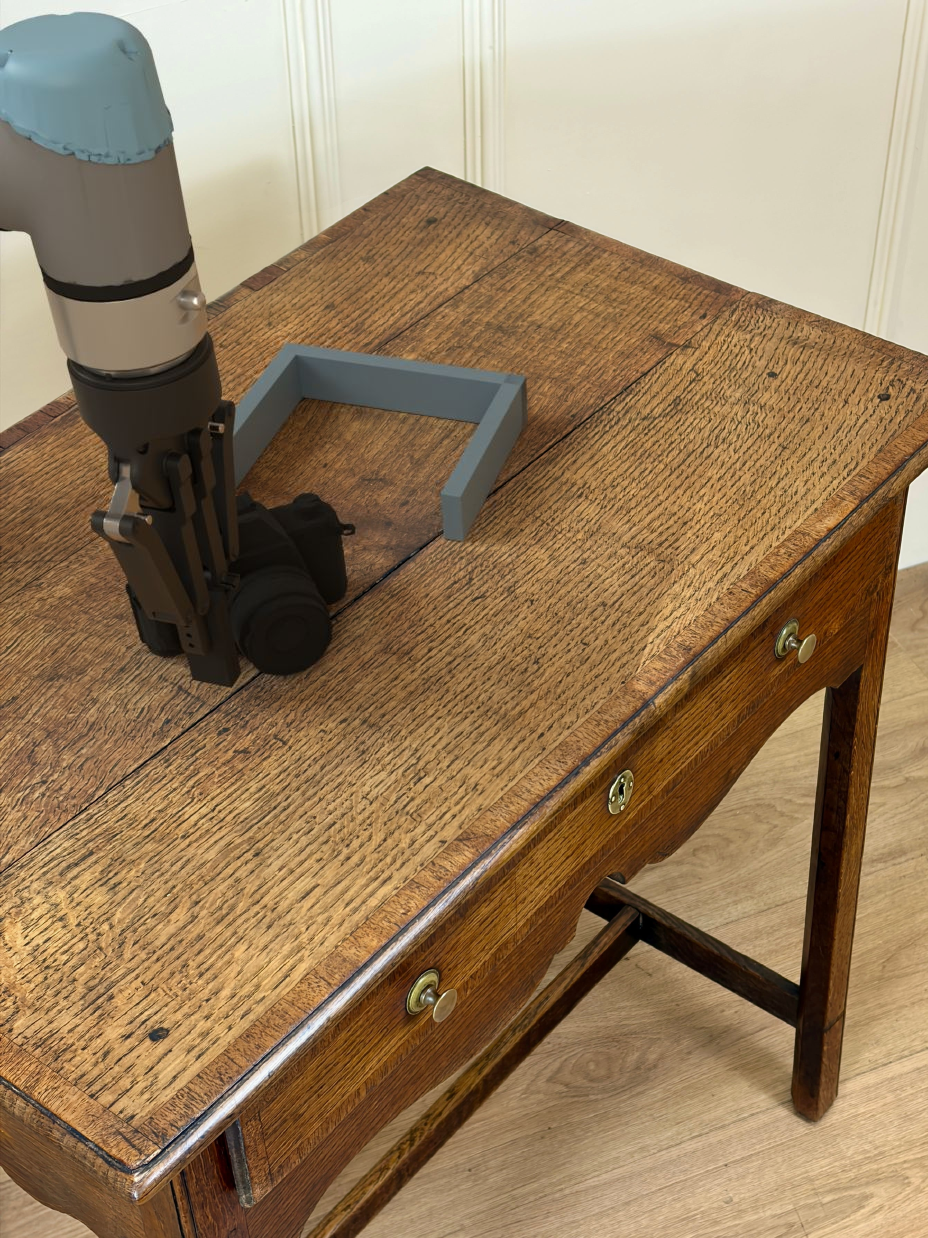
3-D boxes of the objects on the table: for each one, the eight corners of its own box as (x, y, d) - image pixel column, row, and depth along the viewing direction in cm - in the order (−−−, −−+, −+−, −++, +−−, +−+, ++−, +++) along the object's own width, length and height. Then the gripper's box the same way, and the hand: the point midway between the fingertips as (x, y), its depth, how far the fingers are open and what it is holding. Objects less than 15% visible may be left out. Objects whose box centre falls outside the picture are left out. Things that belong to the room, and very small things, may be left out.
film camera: (175, 720, 92) (145, 612, 86) (133, 630, 98) (103, 523, 92) (397, 644, 97) (384, 536, 90) (344, 562, 103) (328, 456, 97)
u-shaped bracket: (208, 499, 109) (198, 454, 106) (293, 385, 120) (286, 342, 117) (463, 542, 104) (460, 496, 101) (527, 419, 115) (526, 375, 112)
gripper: (143, 420, 70) (226, 760, 87) (257, 291, 79) (312, 621, 95) (6, 398, 72) (113, 736, 88) (133, 274, 81) (208, 601, 97)
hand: (217, 676), depth 92 cm, fingers closed
